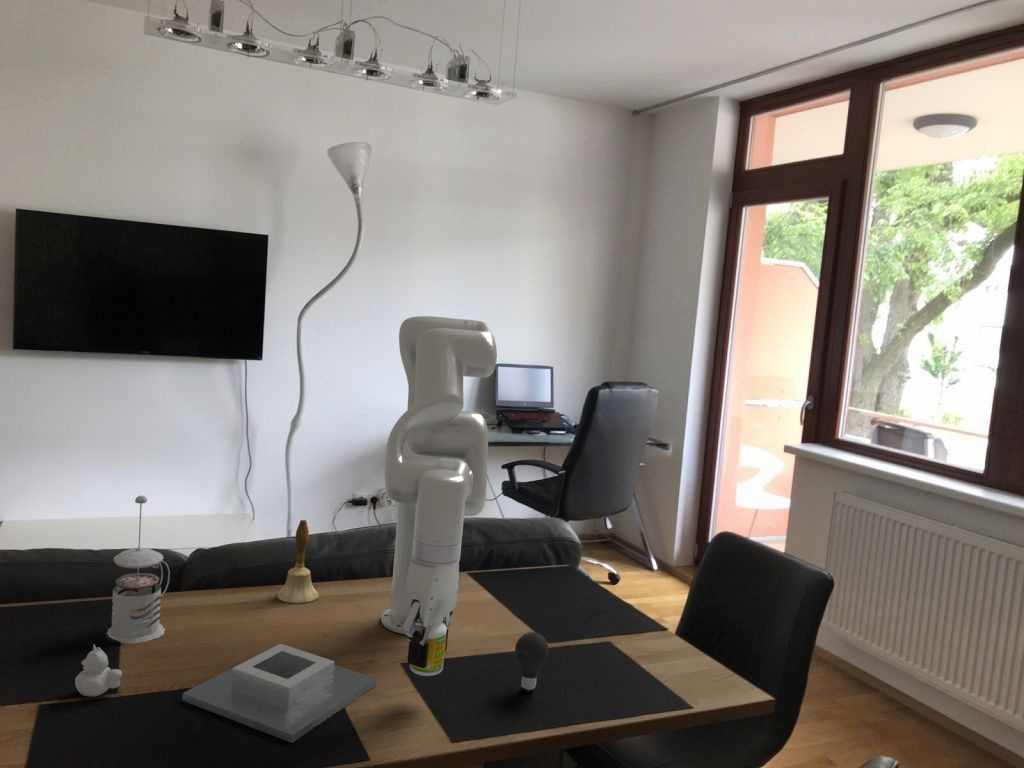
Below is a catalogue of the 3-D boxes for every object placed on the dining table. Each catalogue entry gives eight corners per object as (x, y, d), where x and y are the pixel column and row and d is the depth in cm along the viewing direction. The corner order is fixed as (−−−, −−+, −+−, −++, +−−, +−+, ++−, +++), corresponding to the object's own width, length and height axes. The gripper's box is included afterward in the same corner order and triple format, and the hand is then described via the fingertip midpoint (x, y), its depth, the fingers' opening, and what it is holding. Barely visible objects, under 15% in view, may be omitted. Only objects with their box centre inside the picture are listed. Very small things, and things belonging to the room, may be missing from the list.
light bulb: (510, 681, 145) (515, 625, 144) (542, 683, 145) (548, 627, 144) (512, 697, 139) (518, 639, 138) (546, 699, 140) (552, 641, 139)
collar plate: (275, 651, 148) (277, 626, 147) (375, 685, 139) (378, 658, 139) (182, 700, 129) (183, 671, 128) (291, 742, 120) (293, 711, 120)
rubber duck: (82, 684, 131) (84, 635, 130) (127, 686, 132) (129, 637, 131) (68, 702, 125) (69, 650, 125) (114, 703, 126) (116, 652, 125)
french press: (91, 635, 148) (96, 496, 145) (143, 614, 158) (149, 483, 155) (134, 649, 144) (140, 506, 141) (184, 626, 155) (191, 493, 152)
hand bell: (277, 588, 177) (282, 514, 175) (318, 588, 179) (323, 515, 177) (276, 604, 169) (281, 526, 167) (318, 604, 171) (324, 527, 169)
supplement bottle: (437, 679, 132) (442, 621, 131) (404, 673, 133) (409, 614, 132) (447, 664, 137) (452, 607, 136) (415, 657, 138) (420, 601, 137)
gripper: (443, 530, 141) (434, 631, 144) (385, 559, 126) (376, 672, 129) (483, 540, 138) (473, 644, 141) (429, 571, 123) (419, 687, 126)
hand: (427, 656), depth 135 cm, fingers closed on supplement bottle, 5 cm apart
